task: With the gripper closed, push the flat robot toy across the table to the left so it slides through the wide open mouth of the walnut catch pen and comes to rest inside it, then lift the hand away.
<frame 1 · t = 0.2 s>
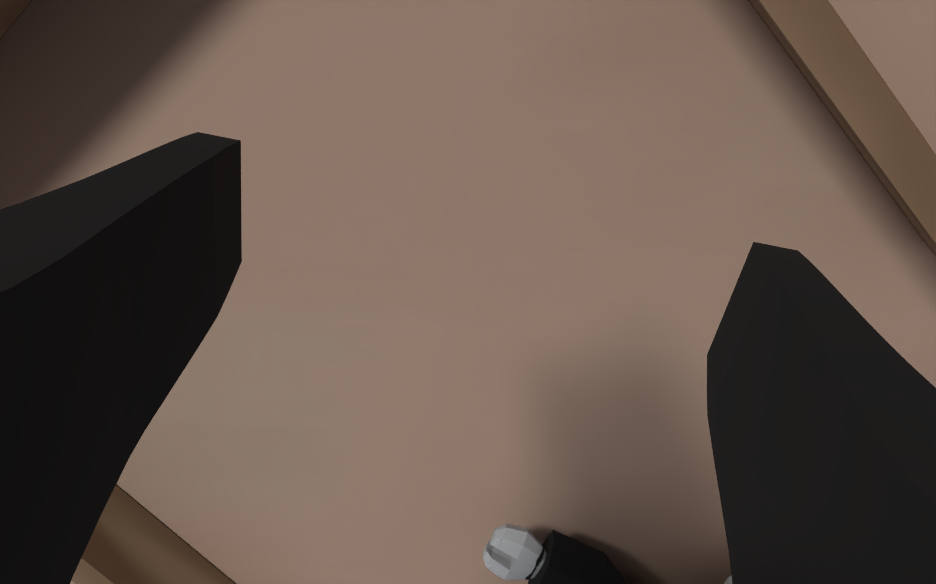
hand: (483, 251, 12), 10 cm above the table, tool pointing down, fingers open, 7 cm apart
catch pen: (332, 240, 24), on the table
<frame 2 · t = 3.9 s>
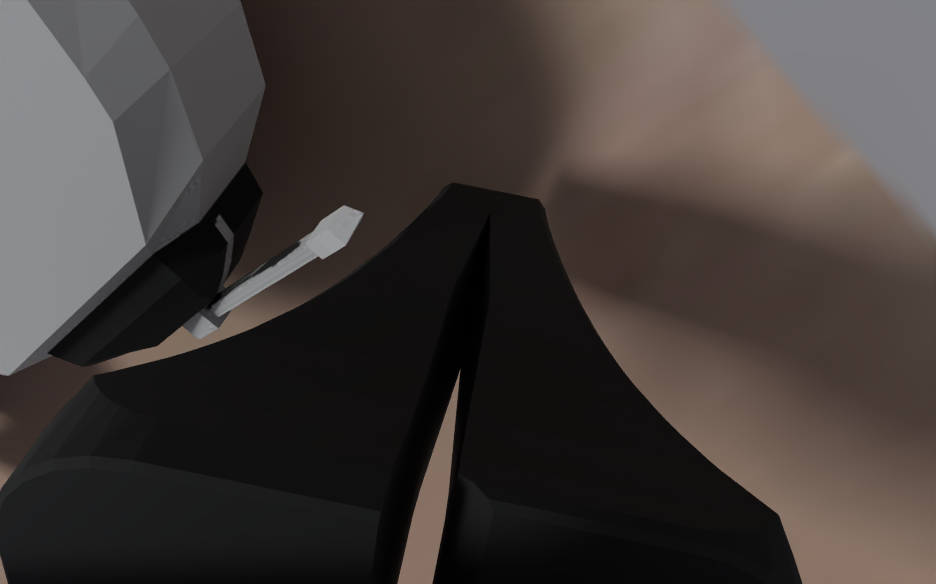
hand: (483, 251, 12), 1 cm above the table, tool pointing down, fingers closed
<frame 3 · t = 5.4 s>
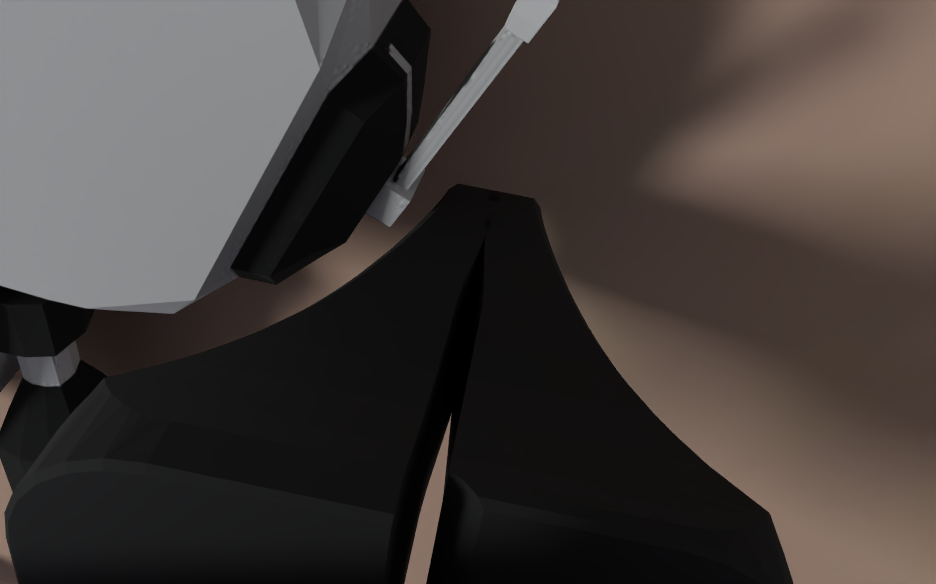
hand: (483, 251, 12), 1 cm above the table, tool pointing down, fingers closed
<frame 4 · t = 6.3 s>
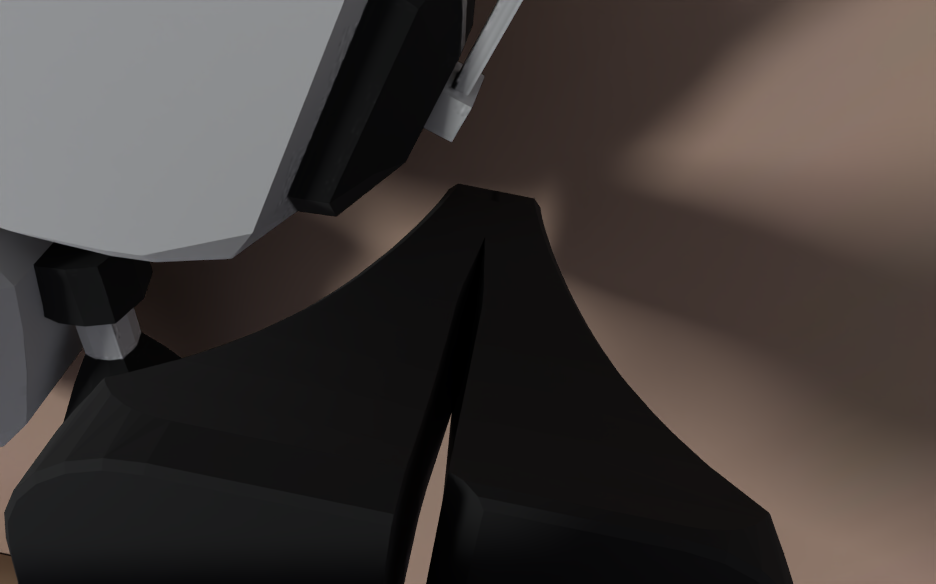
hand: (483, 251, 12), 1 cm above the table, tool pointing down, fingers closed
robot toy: (33, 14, 13), on the table, touching gripper
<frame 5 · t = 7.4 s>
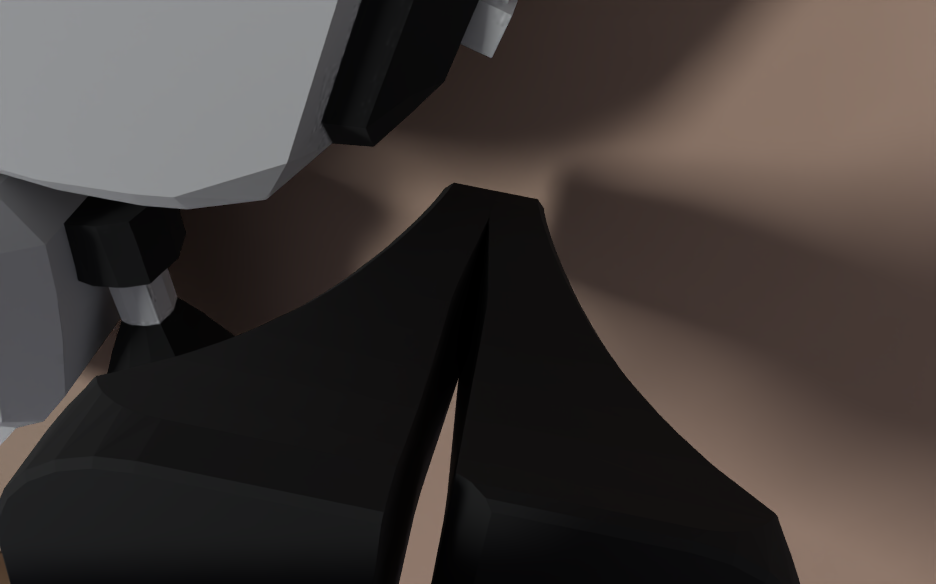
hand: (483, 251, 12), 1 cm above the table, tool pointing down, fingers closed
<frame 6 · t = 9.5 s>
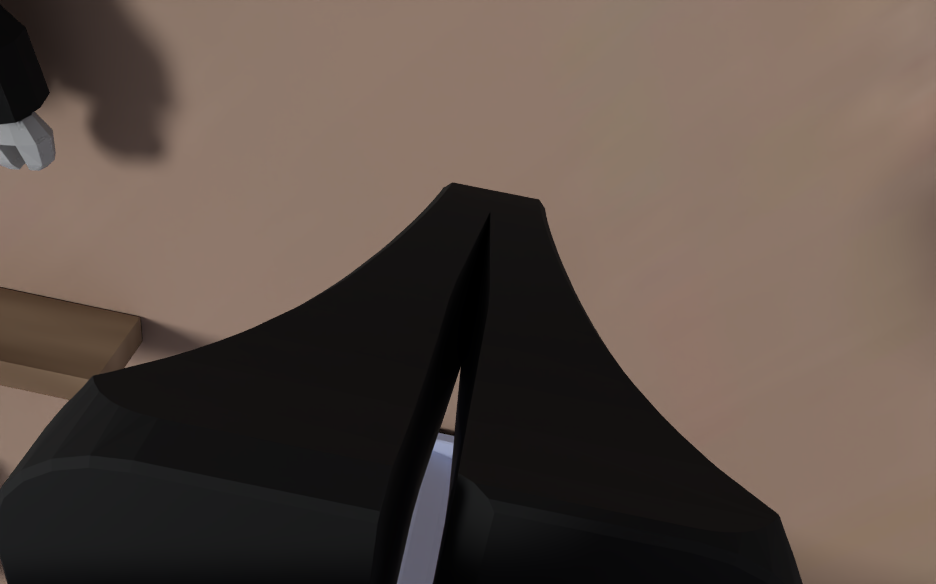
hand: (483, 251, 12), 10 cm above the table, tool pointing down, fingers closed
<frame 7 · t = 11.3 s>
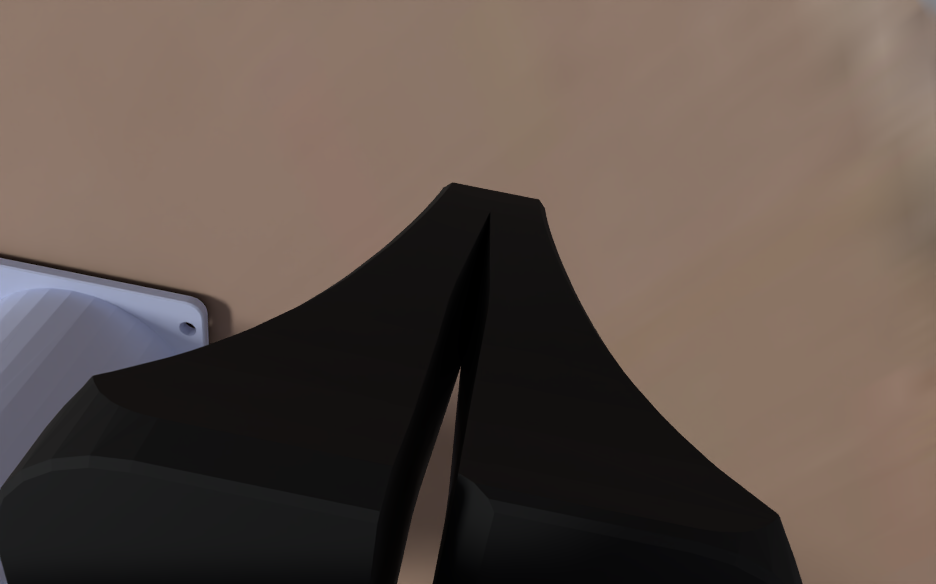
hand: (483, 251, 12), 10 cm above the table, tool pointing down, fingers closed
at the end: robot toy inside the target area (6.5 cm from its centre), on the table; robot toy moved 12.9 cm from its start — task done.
